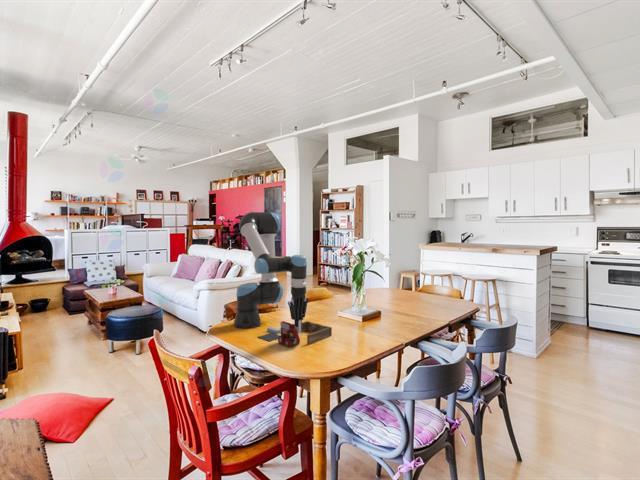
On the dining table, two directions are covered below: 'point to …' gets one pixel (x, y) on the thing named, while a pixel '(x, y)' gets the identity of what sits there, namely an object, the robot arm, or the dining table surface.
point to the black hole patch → (269, 337)
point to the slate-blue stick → (273, 330)
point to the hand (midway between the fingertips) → (298, 332)
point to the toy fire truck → (288, 334)
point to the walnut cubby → (316, 331)
